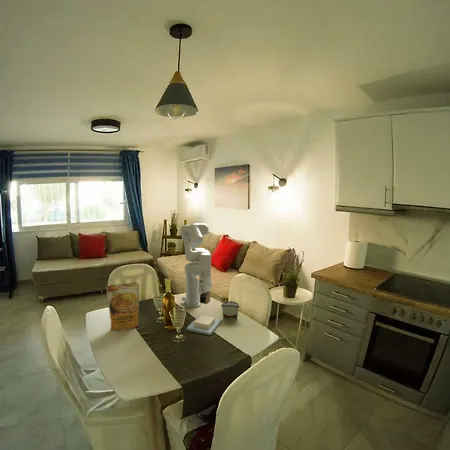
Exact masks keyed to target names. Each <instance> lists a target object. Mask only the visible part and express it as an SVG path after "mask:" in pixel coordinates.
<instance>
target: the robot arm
mask: <svg viewBox="0 0 450 450" xmlns="http://www.w3.org/2000/svg"><path fill="white" fill-rule="evenodd" d="M208 234H209V227H208V225H207V224H206V223H204V222H203V223H202V222H201V223H191V224H183V225H181V226H180V235H181V236H180V237H181V239H182V242H183V245H184V256H185V260H186V261H187V262H190V263H186V264H185V265H184V273H185V296H182V297H181V301H183V306H184V307H186V308H188V309H189V308H190V309H191V308H195V309H196V308H198V307H200V306H201V305H202V304H203V303H205V293H206V292H210V290H211V289H212V286H213V285H212V282H213V281H212V255H211V252H210V251H209V250H207V249H205V248H203V247H198V246H200V245H202V244H203V243H204V237H203V236H207V235H208ZM197 276H198V277H199V278H197ZM202 293H204V294H202ZM200 302H201V303H200Z"/></svg>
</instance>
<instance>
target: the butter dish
mask: <svg viewBox="0 0 450 450" xmlns="http://www.w3.org/2000/svg"><path fill="white" fill-rule="evenodd" d="M222 320H223V319H221V318H215V317H214V316H213V317H212V316H206V315H203V314H202V315H201V314H200V315H198V316H197V317H196V318H195V319H194V320H193V321H192V322H191V323H190V324H189V325H188V326H187V327H186V331H189V332H194V333H199V334H204V335H206V336H207V335H208V336H211V335H212V334H213V333H214V331H216V330H217V328H218V327H219V325H221V324H222Z"/></svg>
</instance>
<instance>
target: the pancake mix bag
mask: <svg viewBox="0 0 450 450" xmlns="http://www.w3.org/2000/svg"><path fill="white" fill-rule="evenodd" d="M105 290H106V291H105V292H106V296H107V304H108V310H109V318H110V331H114V330H119V331H123V329H126V330H130V329H129V328H132V329H135V328H137V327H139V321H138V320H139V308H140V307H139V306H140V285H139V283H137V282H128V283H127V282H126V283H116V284H112V285H111V284H110V285H108V286H106V287H105ZM136 326H137V327H136Z"/></svg>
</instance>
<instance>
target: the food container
mask: <svg viewBox="0 0 450 450" xmlns="http://www.w3.org/2000/svg"><path fill="white" fill-rule="evenodd" d="M220 306H221V307H220V308H221V309H222V311H221V312H222V320H224V319H225V320H226V319H227V320H238V316H239V315H238V314H239V309H240V305H239V303H238V302H236V301H230V300H229V301H225V302H222V303H221V305H220Z"/></svg>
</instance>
